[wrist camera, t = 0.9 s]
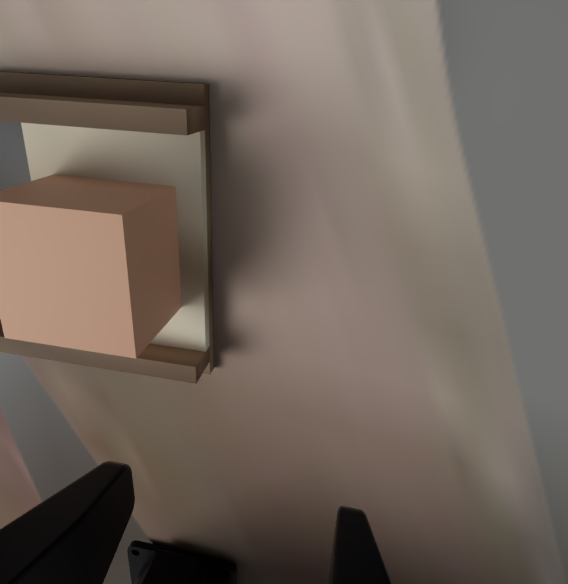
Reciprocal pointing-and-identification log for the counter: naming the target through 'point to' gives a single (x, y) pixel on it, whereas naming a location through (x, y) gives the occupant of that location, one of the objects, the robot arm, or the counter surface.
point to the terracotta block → (88, 263)
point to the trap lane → (131, 168)
